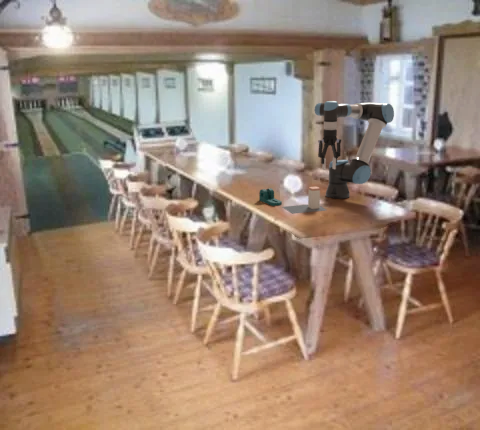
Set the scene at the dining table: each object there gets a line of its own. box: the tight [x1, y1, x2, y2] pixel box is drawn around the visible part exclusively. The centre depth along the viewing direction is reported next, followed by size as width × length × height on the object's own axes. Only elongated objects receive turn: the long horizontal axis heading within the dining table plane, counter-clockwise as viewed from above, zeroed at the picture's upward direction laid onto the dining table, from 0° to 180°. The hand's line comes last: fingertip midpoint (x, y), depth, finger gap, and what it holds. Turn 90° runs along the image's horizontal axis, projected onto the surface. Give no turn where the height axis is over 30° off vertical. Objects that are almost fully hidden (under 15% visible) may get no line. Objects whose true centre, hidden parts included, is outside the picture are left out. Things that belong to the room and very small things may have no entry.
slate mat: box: [282, 203, 327, 215], centre depth 305 cm, size 22×16×1 cm
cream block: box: [307, 186, 321, 209], centre depth 305 cm, size 5×5×12 cm
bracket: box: [258, 187, 283, 207], centre depth 320 cm, size 18×7×8 cm, turn 27°
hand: (328, 169), depth 303 cm, fingers open, 6 cm apart
